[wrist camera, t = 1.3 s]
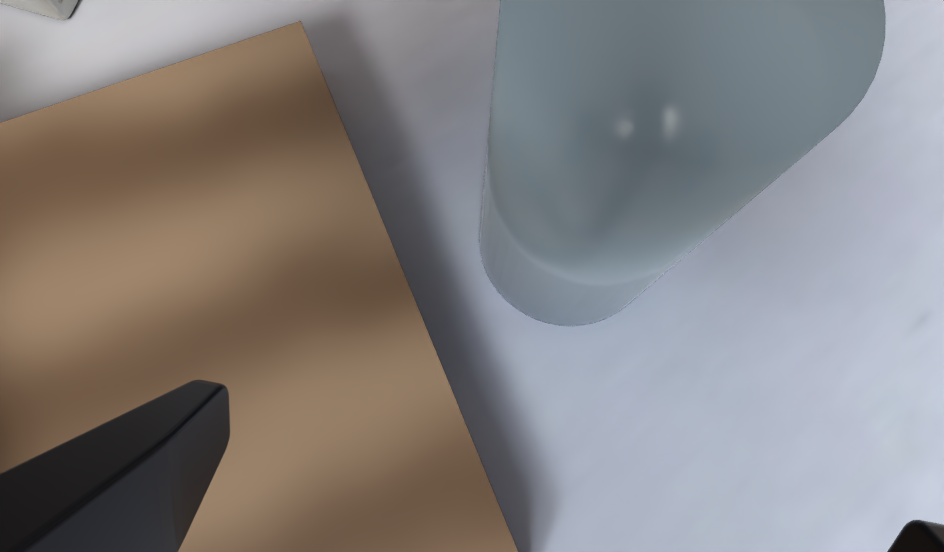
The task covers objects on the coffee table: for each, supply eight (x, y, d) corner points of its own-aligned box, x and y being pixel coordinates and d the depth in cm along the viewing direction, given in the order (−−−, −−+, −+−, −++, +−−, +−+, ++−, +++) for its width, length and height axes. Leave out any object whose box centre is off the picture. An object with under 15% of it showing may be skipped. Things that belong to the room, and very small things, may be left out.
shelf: (529, 585, 20) (573, 672, 12) (22, 825, 18) (-304, 1106, 10) (319, 70, 25) (255, -101, 17) (-103, 218, 23) (-390, 101, 15)
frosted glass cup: (684, 285, 23) (961, 85, 10) (522, 354, 22) (606, 229, 9) (606, 135, 24) (764, -199, 12) (452, 195, 23) (443, -94, 11)
